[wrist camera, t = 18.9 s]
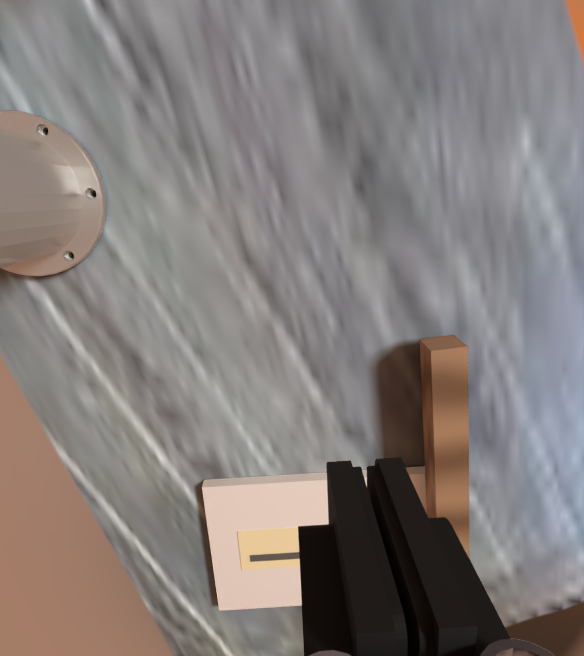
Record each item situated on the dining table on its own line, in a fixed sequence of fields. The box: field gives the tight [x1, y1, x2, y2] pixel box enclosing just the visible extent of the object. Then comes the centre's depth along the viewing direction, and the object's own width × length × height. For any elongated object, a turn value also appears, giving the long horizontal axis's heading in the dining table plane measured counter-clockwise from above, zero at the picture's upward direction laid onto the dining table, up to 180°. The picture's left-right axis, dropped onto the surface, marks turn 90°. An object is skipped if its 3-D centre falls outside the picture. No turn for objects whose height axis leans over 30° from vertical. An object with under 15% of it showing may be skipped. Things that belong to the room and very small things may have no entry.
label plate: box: [202, 466, 427, 611], centre depth 45 cm, size 26×16×2 cm, turn 93°
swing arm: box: [420, 335, 469, 557], centre depth 39 cm, size 24×3×3 cm, turn 7°
